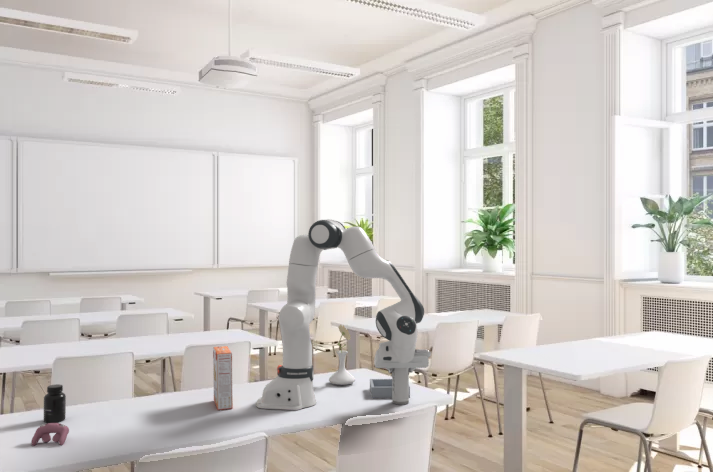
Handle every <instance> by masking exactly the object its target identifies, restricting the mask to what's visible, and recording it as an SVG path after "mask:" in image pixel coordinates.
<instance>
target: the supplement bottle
mask: <svg viewBox="0 0 713 472" xmlns="http://www.w3.org/2000/svg"><path fill="white" fill-rule="evenodd" d="M63 386H64V385H63V384H49V385H47V386H46V387H47V388H46V394H44V397H43V422H44V423H45V424H48V423H62V422H63V421H65V420H66V411H67V409H66V405H67V404H66V403H67V402H66V400H67V397H66V396H67V395H66V393H65V392H63V391H64V387H63Z"/></svg>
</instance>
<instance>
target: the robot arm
mask: <svg viewBox="0 0 713 472" xmlns="http://www.w3.org/2000/svg"><path fill="white" fill-rule="evenodd" d="M337 248H338V249H340V250H341V251H342V252H343V254H344V256H345V258H346V260H347V262H348V265H349V268H350V269H351V270H352V272H353V273H354V275H355V276H358V277H359V278H363V279H383V280H385V281H387V282H388V283H389V284H390V285H391V287H392V288H393V289H394V291H395V293H396V295H398V297H399V299H400V301H397V302H396V303H394V304H391V305H389V306H386V307H384V308H383V309H381V310H379V311H377V313H376V315H375V325H376V329H377V331H378V332H379V334H380V335H381V336H382V337H383V338H384V339H386V340H387V341H384V342H380V343H379V345H378V348H377V350H376V352H375V353H374V354H375V355H374V367H375V368H376V369H386V370H387V371H388V374H389V373H390V374H391V373H392V372H393V369H392V368H409V374H411V373H413V372H414V371H415V370H416V369H418V368H419V369H420V368H421V369H422V368H423V369H425V368H428V367H429V364H430V362H429V359H430V357H431V355H432V352H431V351H430V350H428V349H427V348H426V349H425V348H424V349H423V348H422V349H421V348H420V349H418V348H417V341H418V336H419V335H418V325H417V324H420V323H421V322H422V321H423V318H424V315H425V308H424V305H423V303H422V302H421V301H420V300H419V298H418V297H417V296H416V295H415V294H414V293H413V292H412V289H411V288H410V287H409V286H408V284H407V283H406V281H405V280H404V278H403V277H402V275H401V274H400V272H399V271H398V269H397V268H396V267H395V266H394V264H393V263H392V262H391V261H390V260H387V259H384V258H383V257H381V256H380V254H378V252H377V250H376V249H375V246H374V245H373V242H372V240H371V239H370V237H369V236H368V234H367V232H366V231H365V230H364V229H363V228H362V227H361V226H350V227H348V228H346V227H345V225H344V224H343V223H342V222H340V221H337V220H335V219H331V218H330V219H329V218H327V219H320V220H316V221H314V222H313V223H312V224H311V226H309V229H308V234H301V235H299V236H298V235H297V236H296V237H295V239H294V241H293V242H292V247H291V250H290V255H289V259H288V266H287V267H288V268H287V276H286V288H287V289H286V291H287V302H286V304H284V305H283V306H282V308H281V309H280V311H279V314H278V324H279V328H280V329H279V330H280V336H281V341H282V365H281V364H279V365H278V366H277V367H276V371H277V376H275V378H273V379H272V380H271V381H270V382H268V383H267V384H266V385H265V387H264V388H263V390H262V394H261V397H259V398H258V399H257V400H256V403H255V406H256V408H258V409H266V410H267V409H269V410H288V411H289V410H290V411H291V410H292V411H298V410H301V409H304V408H309V407H313V406H315V405H316V404H317V399H316V396H315V389H314V384H313V380H314V375H315V374H314V373H315V371H314V365H313V343H312V340H311V332H310V324H311V323H313V321H314V318H315V315H316V314H315V313H316V290H317V289H316V285H317V277H318V271H319V261H320V260H319V259H320V255H321V253H322V251H327V250H332V249H337ZM416 348H417V349H416Z"/></svg>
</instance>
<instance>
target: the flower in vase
mask: <svg viewBox="0 0 713 472" xmlns="http://www.w3.org/2000/svg"><path fill="white" fill-rule="evenodd" d="M337 327H338V331H339V332H340V335H341V336H340V339H339V341H337V346H339V348H340V350H336V352H335V353H336V354H337V356H338V361H339V366H338V369H337V371H334V373H333V374H332V375H331V376H330V377H329V378H328V382H329V383H330V384H332V385H338V386H346V385H347V386H348V385H351V384H353V383H355V381H356V378H355V376H354V375H352V374H351V373H350V372H349V371H348V370H347V369H346V367H345V365H346V364H345V363H346V356H347V354H348V351H347V350H342V349H343V348H344V347H346V343H344V345H342V346H341V341H342V340H341V339H342V337H344V339H346V340H347V341H350V340H352V338H351V337H352V335H351V334H350V332H349V329H348V328H346V327H345V325H342V324H339V325H338V326H337Z"/></svg>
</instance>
